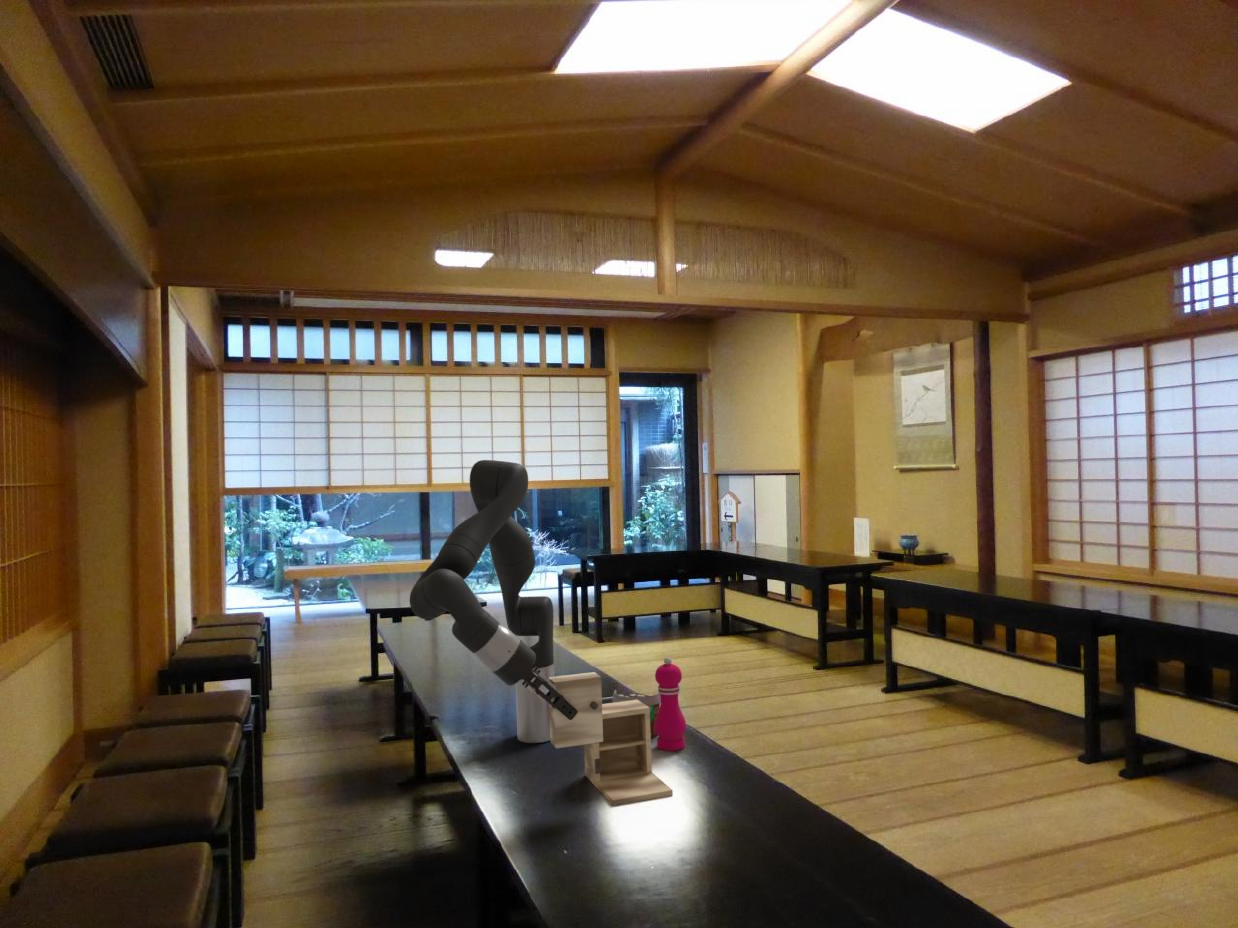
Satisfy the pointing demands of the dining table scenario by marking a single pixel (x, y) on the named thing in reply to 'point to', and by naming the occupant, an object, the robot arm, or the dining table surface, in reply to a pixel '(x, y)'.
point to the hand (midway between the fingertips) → (570, 712)
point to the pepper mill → (669, 708)
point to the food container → (649, 701)
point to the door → (588, 703)
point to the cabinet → (624, 755)
